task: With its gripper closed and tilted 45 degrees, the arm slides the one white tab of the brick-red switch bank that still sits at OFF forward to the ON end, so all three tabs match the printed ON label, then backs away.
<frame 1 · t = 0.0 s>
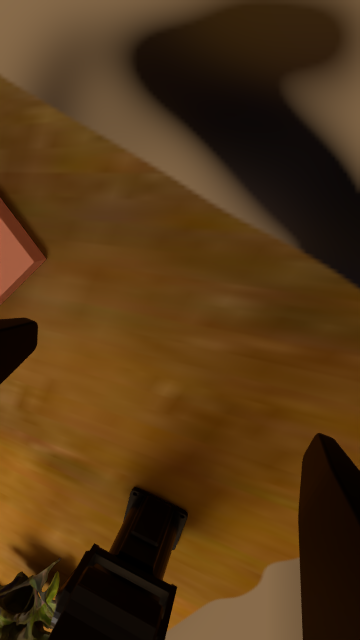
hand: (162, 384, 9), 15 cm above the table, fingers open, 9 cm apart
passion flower: (53, 568, 45), on the table
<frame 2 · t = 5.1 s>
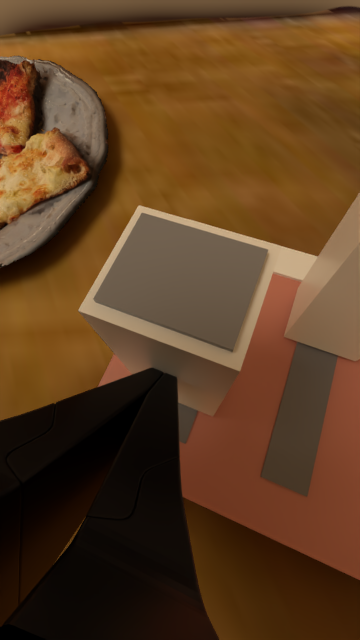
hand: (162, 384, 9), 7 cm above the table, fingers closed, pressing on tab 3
switch bank: (299, 384, 16), on the table
tab 3: (187, 343, 11), point 6 cm above the table, slide at 1.1 cm, touching gripper
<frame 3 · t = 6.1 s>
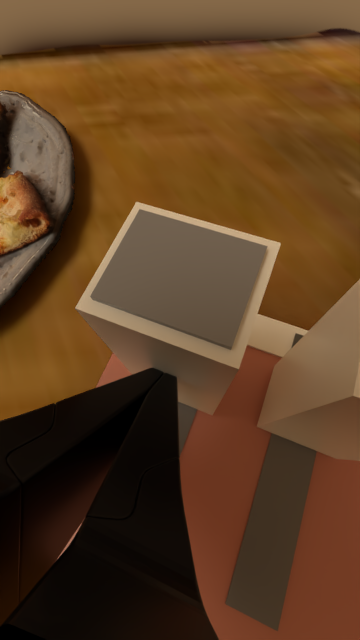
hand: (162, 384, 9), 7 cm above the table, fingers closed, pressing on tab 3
tab 2: (351, 393, 10), point 6 cm above the table, slide at 6.0 cm
switch bank: (276, 474, 14), on the table
tab 3: (186, 341, 11), point 6 cm above the table, slide at 5.7 cm, touching gripper
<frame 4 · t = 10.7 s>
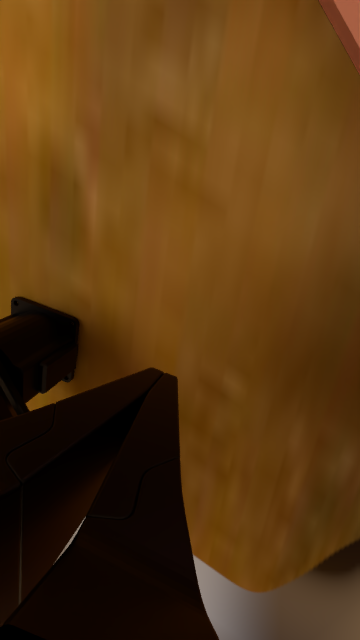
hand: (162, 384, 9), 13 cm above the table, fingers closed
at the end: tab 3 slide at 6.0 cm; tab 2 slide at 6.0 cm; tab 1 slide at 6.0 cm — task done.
